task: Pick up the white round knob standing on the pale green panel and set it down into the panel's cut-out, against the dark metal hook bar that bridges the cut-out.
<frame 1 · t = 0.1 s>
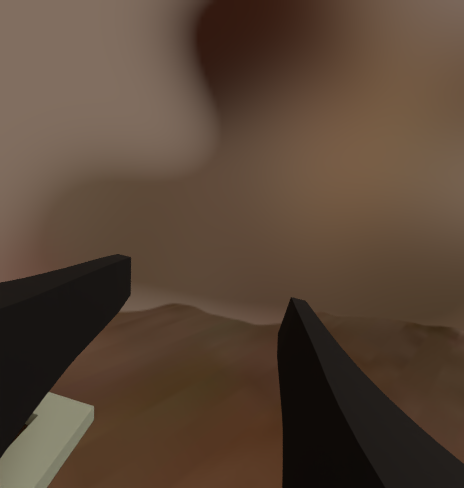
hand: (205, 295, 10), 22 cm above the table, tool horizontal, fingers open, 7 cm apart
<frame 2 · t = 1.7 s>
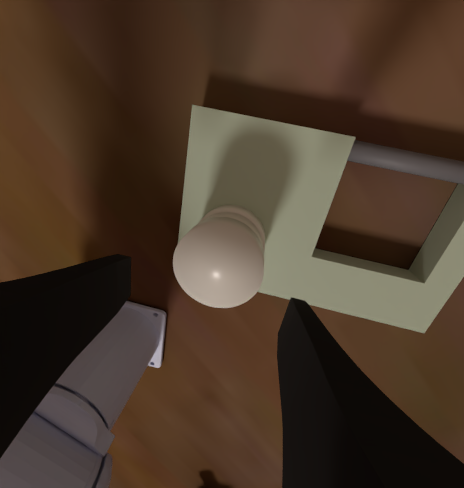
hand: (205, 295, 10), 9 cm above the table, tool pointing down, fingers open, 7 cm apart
pale green panel: (315, 223, 17), on the table
white round knob: (231, 237, 17), point 2 cm above the table, touching pale green panel
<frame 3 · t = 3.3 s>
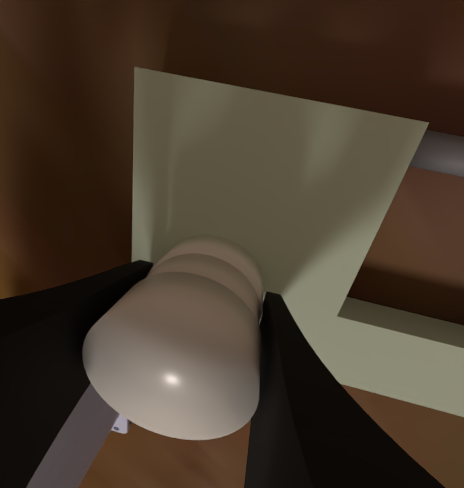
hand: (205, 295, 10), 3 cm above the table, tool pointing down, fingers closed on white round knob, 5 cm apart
pale green panel: (340, 259, 11), on the table
white round knob: (210, 284, 11), point 2 cm above the table, touching gripper, pale green panel
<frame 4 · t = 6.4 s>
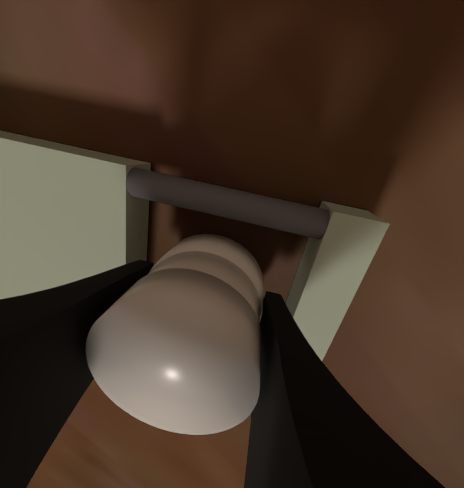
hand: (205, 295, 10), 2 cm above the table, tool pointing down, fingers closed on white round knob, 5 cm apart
pale green panel: (146, 272, 13), on the table
white round knob: (211, 282, 11), point 1 cm above the table, touching gripper
when the fingers open (2 cm above the table, at t = 7.1 s): white round knob drops 1 cm, resting in pale green panel.
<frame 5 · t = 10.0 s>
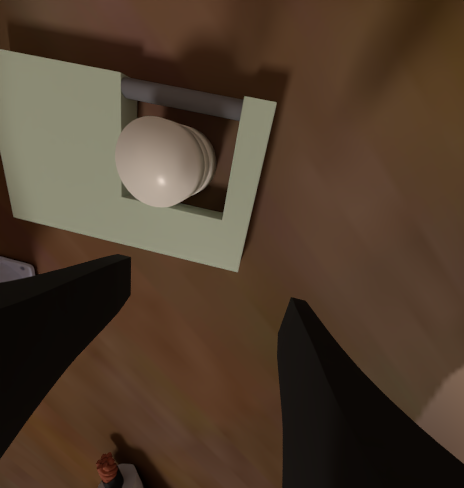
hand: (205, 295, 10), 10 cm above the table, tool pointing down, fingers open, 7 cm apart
pale green panel: (135, 168, 18), on the table
white round knob: (185, 161, 18), resting in pale green panel
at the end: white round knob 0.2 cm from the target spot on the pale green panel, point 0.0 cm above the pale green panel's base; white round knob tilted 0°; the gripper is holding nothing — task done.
